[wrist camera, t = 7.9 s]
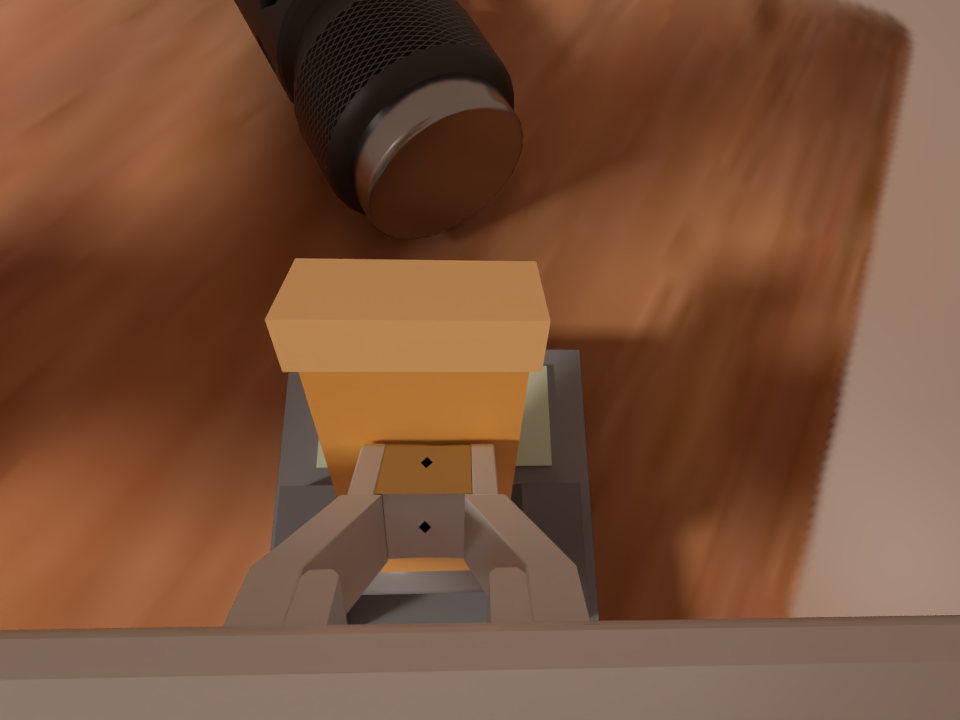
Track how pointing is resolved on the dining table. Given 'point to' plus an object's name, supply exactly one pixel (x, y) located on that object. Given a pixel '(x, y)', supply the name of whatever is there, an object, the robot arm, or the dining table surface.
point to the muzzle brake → (395, 105)
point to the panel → (536, 492)
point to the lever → (413, 368)
